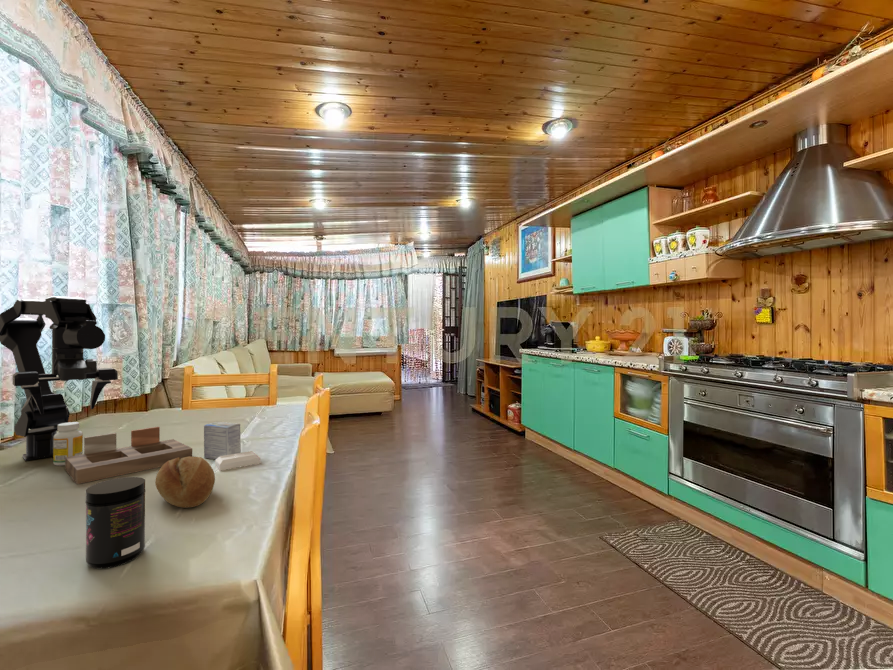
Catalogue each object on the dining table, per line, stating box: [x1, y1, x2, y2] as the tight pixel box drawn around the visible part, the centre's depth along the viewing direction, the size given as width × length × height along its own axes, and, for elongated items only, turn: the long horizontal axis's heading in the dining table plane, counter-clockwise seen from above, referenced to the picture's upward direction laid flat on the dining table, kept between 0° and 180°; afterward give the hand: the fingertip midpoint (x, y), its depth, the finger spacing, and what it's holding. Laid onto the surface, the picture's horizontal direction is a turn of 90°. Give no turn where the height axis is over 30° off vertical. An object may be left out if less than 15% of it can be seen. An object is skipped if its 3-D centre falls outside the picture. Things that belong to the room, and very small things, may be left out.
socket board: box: [64, 426, 193, 485], centre depth 102 cm, size 14×22×7 cm, turn 140°
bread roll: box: [154, 456, 216, 508], centre depth 81 cm, size 10×15×8 cm, turn 41°
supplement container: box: [85, 476, 146, 569], centre depth 60 cm, size 7×7×10 cm
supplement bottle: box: [52, 421, 84, 467], centre depth 103 cm, size 5×5×10 cm
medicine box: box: [203, 421, 242, 460], centre depth 108 cm, size 8×4×9 cm, turn 71°
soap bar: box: [214, 450, 261, 472], centre depth 102 cm, size 5×9×3 cm, turn 129°
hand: (67, 411), depth 103 cm, fingers open, 9 cm apart
